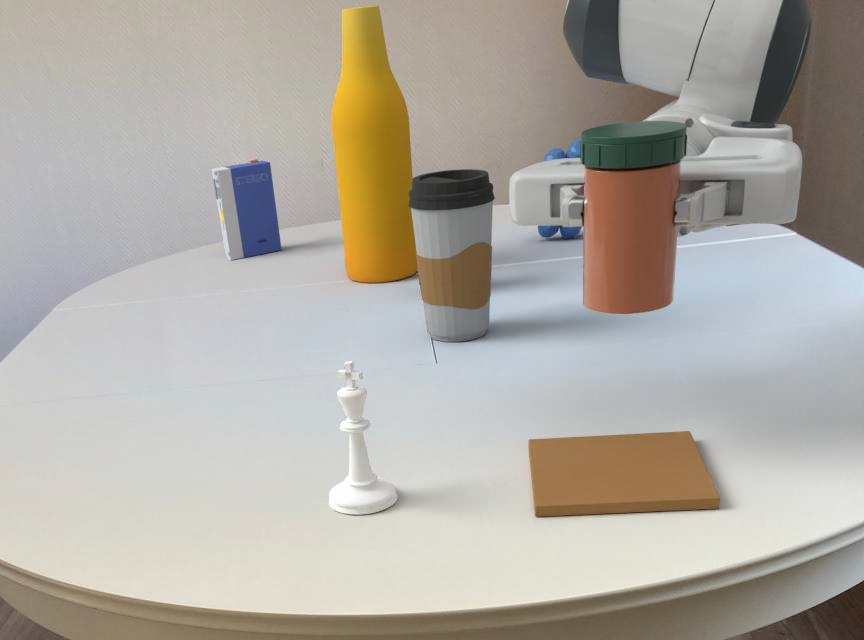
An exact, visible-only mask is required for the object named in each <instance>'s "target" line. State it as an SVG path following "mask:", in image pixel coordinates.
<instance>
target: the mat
mask: <svg viewBox="0 0 864 640" xmlns="http://www.w3.org/2000/svg"><path fill="white" fill-rule="evenodd" d="M527 441H528V456H529V466H530V475H531V486H532V487H531V488H532V496H533V507H534V516H535V517H537V518H538V517H539V518H540V517H556V516H557V517H558V516H560V517H561V516H581V515H602V514H604V515H607V514H622V513H623V514H625V513H650V512H668V511H670V512H671V511H673V512H674V511H694V510H713V509H714V510H716V509H720V504H721V497H720V494H719V493H718V490H717V488H716V486H715V484H714V481H713V479H712V476H711V475H710V473H709V470H708V468H707V466H706V464H705V462H704V459H703V457H702V455H701V452H700V451H699V448H698V446H697V444H696V441H695V440H694V438H693V435H692V433H691V431H690V430H684V431H683V430H681V431H667V432H666V431H663V432H645V433H625V434H605V435H588V436H587V435H586V436H568V437H567V436H566V437H550V438H548V437H547V438H532V439H531V438H530V439H528V440H527Z"/></svg>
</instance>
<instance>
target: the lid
mask: <svg viewBox="0 0 864 640" xmlns="http://www.w3.org/2000/svg"><path fill="white" fill-rule="evenodd" d="M642 121H643V120H642ZM642 121H630V122H628V121H627V122H620V123H612V124H604V125H600V126H594V127H591V128H586V129H584V130H583V131H581V132H580V139H581V140H580V139H579V140H580V160H581V164H582V165H584V166H588V167H594V168H637V167H647V166H655V165H661V164H667V163H671V162H675V161H678V160H680V159H682V158H684V157H685V155H686V150H687V135H686V131H687V125H686V124H684V123H680V122H671V121H643V122H642Z"/></svg>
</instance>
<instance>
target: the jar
mask: <svg viewBox="0 0 864 640" xmlns="http://www.w3.org/2000/svg"><path fill="white" fill-rule="evenodd" d="M680 175H681V159H680V160H678V161H675V162H671V163H667V164H661V165H655V166H647V167H637V168H594V167H588V166H584V227H583V242H582V244H583V245H582V248H583V249H582V251H583V254H582V259H583V260H582V305H583V306H584V307H585V309H587V310H590V311H593V312H596V313H603V314H611V315H632V314H643V313H650V312H655V311H658V310H662V309H664V308H666V307H669V306H670V305H671V304H672V303H673V302H674V299H675V283H676V263H677V247H678V238H677V230H678V226H675V225H674V217H675V215H676V214H677V212H676V211H675V202H676V198H677V197H679V193H680Z"/></svg>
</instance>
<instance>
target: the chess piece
mask: <svg viewBox="0 0 864 640" xmlns="http://www.w3.org/2000/svg"><path fill="white" fill-rule="evenodd" d="M354 364H355V363H354V361H351V360H347V361H345V362H344V365H343V366H344V369H339V370H337V378H338V379H344V380H345V381H346V382H345V383H346V386H344V387H342V388H340V389H339V390H337V392H336V395H337V396H336V397H337V398H338V401H339V403H340V405H341V406H342V409H343V410H342V411H343V412H344V414H345V416H346V419H344V420H342V422H341V423H340V426H339V429H340V431H342V432H343V433H348V434H349V435H348V437H349V440H348V441H349V459H348V460H349V461H348V475H347V476H346V477H345V478H344V480H343V481H340V482H339V483H337V484H335V485H334V486H333V487H332V488H331V489H330V491H329V494H328V497H329V499H328V506H329V507H330V508H331V509H332V510H334V511H335V512H337V513H341V514H344V515H352V516H353V515H354V516H356V515H370V514H374V513H378V512H381V511H384V510H387V509H388V508H390V507H392V506H393V505H394V504H396V502H397V500H398V499H399V498H398V497H399V495H398V493H397V487H396V485H395V484H394V483H393V482H392V481H390V480H388V479H386V478H383V477H378V475H377V474H376V473H374V472H373V470H372V466H371V462H370V458H369V454H368V449H367V444H366V440H365V435H364V431H367V430H369V429H370V428H371V426H372V423H371V421H370V420H369V419H368V418H365V417H363V412H364V408H365V402H366V398H367V393H368V392H367V388H366V387H363V386H362V385H357V384H356V381H361V380H362V379H364V376H363V371H360V370H359V371H358V370H355V366H354Z"/></svg>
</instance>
